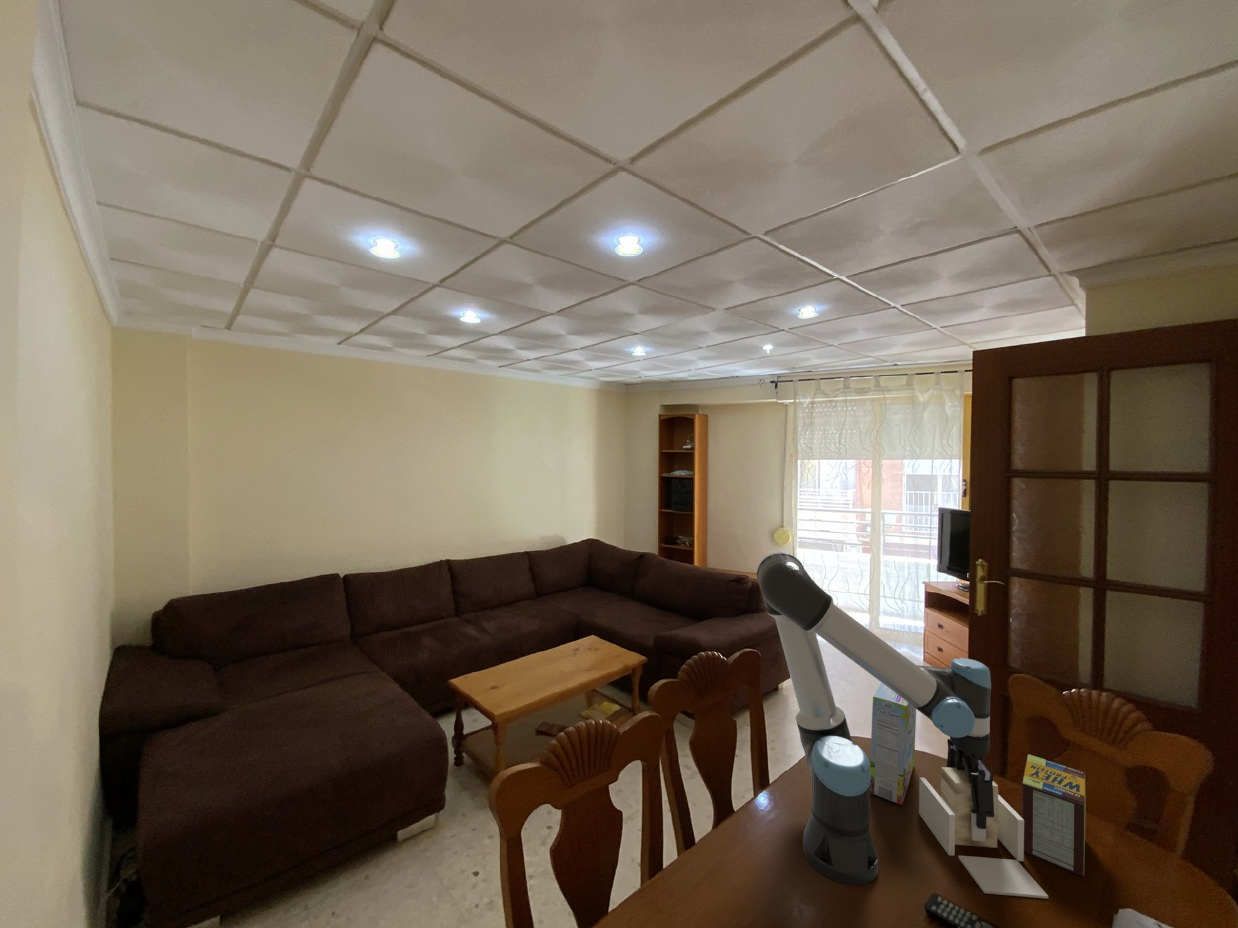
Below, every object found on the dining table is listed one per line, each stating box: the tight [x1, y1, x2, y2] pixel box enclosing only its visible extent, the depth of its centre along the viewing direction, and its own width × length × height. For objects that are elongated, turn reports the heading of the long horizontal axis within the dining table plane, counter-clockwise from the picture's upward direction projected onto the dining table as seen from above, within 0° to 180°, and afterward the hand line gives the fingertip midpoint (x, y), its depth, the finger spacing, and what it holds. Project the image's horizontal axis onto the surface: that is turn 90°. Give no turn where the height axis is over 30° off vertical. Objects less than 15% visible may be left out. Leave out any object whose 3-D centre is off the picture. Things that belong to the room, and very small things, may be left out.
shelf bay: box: [918, 777, 1025, 862], centre depth 116 cm, size 15×13×9 cm
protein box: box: [1021, 754, 1087, 877], centre depth 113 cm, size 10×15×16 cm
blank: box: [940, 766, 999, 848], centre depth 116 cm, size 9×6×14 cm, turn 85°
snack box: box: [869, 682, 917, 806], centre depth 136 cm, size 22×9×26 cm, turn 143°
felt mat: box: [957, 854, 1049, 900], centre depth 104 cm, size 12×9×1 cm
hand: (968, 827), depth 116 cm, fingers open, 7 cm apart
